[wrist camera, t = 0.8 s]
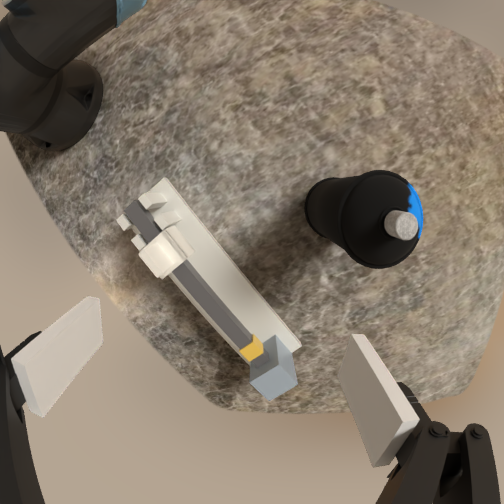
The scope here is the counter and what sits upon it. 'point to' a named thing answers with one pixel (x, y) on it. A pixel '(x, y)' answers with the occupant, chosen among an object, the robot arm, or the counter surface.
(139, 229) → the grey rod on board
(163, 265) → the sleeve
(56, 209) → the counter surface
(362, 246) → the aerosol can
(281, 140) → the counter surface
